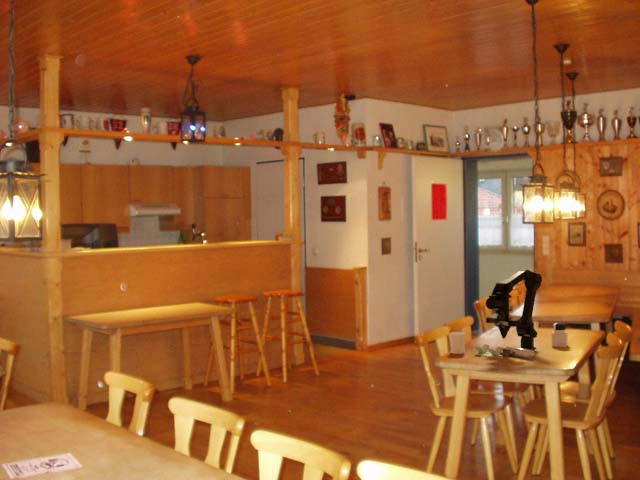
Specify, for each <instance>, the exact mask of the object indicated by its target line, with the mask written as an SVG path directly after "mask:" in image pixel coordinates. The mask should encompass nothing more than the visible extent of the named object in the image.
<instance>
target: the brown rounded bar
mask: <svg viewBox="0 0 640 480" xmlns="http://www.w3.org/2000/svg"><path fill="white" fill-rule="evenodd" d="M517 347H518V346H510V345H507V346H505V348H506V349H510V355H511V356H512V357H515V356H516V358H521V359H527V360H534V359H535V358H536V357H535V356H536V353H535V351H534V349H531V350H528V349H523V348H517ZM511 356H510V357H511Z"/></svg>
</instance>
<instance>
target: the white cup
mask: <svg viewBox="0 0 640 480" xmlns="http://www.w3.org/2000/svg"><path fill="white" fill-rule="evenodd" d="M449 345H450V353H451V354H453V355H462V354H463V355H464V354H465V349H466V332H464V331H463V332H462V331H454V332H453V331H452V332H450V333H449Z"/></svg>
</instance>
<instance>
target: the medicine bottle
mask: <svg viewBox="0 0 640 480" xmlns="http://www.w3.org/2000/svg"><path fill="white" fill-rule="evenodd" d="M567 346H568V331H566V324H565V323H563V322H554V323H553V331H552V332H551V347H552V348H567Z"/></svg>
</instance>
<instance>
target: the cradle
mask: <svg viewBox="0 0 640 480" xmlns="http://www.w3.org/2000/svg"><path fill="white" fill-rule="evenodd" d="M474 349H475V350H476V351H477V352H476V353H474V355H476V356H481V357H487V358H490V359H496V358H500V357H504V356H503V355H500V353H501V352H503V346H502V347H501V346H497V347H496V348H495V350H494V349H493V348H490V345H489V344H483V345H482V348H481V347H480V346H477V345H475V346H474Z"/></svg>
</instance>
